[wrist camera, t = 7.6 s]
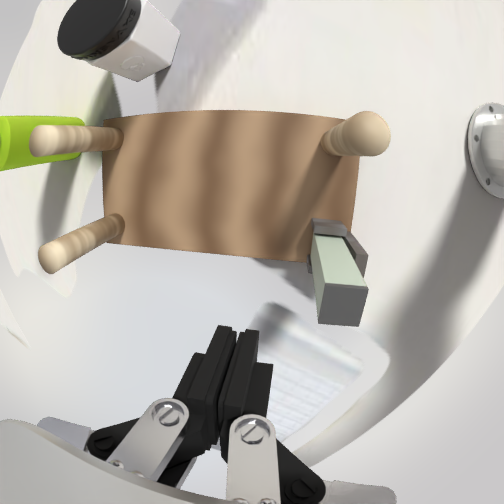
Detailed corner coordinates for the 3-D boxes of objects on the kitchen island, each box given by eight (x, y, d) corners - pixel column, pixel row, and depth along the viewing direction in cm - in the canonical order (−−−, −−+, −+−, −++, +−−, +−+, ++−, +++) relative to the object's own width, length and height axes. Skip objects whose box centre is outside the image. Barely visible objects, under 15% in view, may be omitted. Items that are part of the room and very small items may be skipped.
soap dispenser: (96, 120, 28) (-38, 120, 9) (76, 166, 30) (-50, 197, 12) (71, 104, 27) (-51, 101, 9) (53, 148, 30) (-64, 169, 11)
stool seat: (357, 124, 25) (413, 102, 12) (341, 259, 30) (374, 331, 17) (112, 120, 28) (27, 115, 15) (114, 238, 33) (41, 283, 20)
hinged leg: (313, 229, 27) (338, 232, 27) (310, 254, 28) (335, 256, 28) (325, 285, 15) (368, 289, 15) (318, 323, 16) (358, 326, 16)
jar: (123, 92, 27) (56, 75, 15) (112, 44, 24) (52, 18, 13) (189, 59, 25) (140, 17, 14) (173, 11, 22) (127, -35, 11)
